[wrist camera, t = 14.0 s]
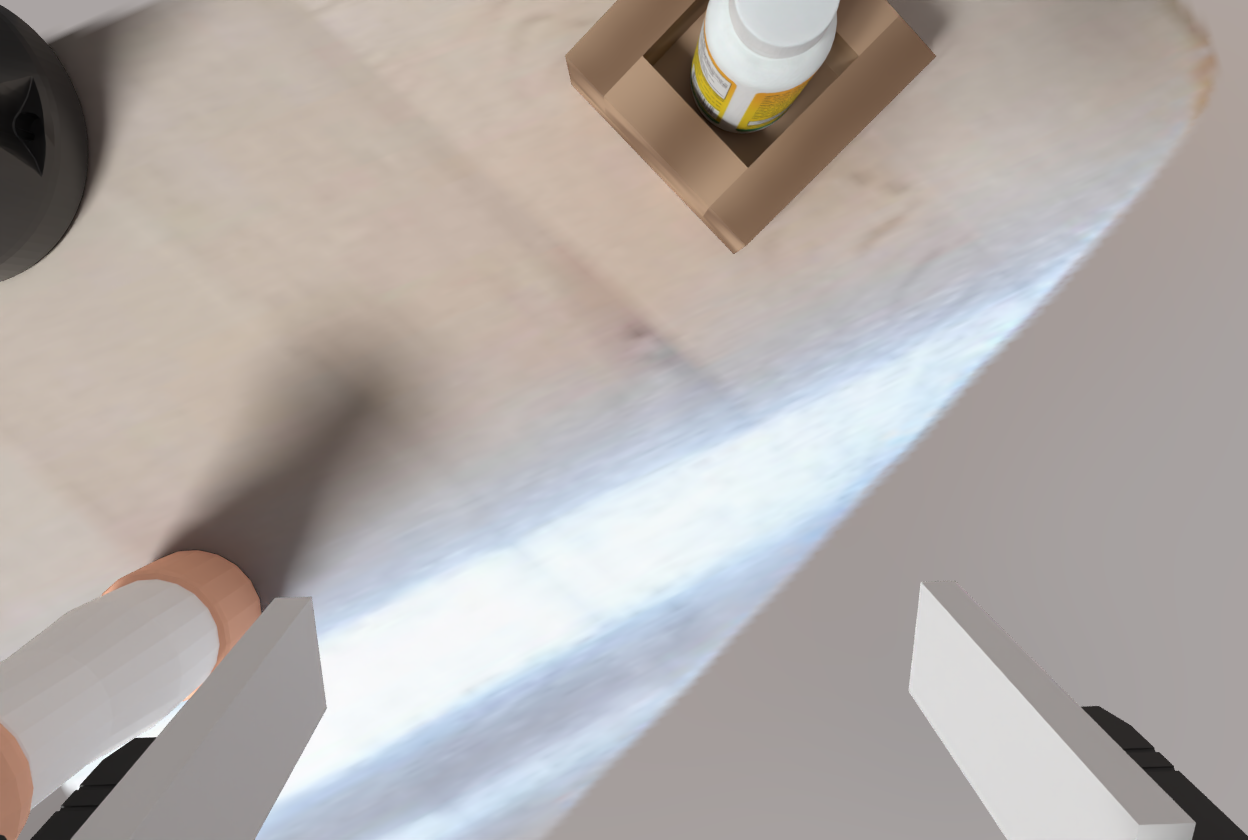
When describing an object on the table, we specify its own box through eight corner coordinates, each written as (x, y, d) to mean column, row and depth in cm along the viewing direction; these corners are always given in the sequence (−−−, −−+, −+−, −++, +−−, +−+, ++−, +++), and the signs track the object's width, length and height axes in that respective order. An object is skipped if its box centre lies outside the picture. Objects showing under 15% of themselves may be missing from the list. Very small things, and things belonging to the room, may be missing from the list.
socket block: (571, 84, 37) (565, 55, 33) (741, -95, 36) (755, -147, 32) (733, 254, 38) (745, 245, 34) (903, 84, 37) (936, 56, 33)
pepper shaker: (288, 606, 41) (-5, 847, 22) (210, 698, 42) (-139, 1010, 23) (184, 523, 40) (-210, 698, 21) (107, 618, 41) (-341, 869, 22)
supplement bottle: (673, 113, 36) (691, 33, 27) (712, 7, 36) (744, -113, 26) (773, 152, 37) (827, 86, 27) (813, 47, 36) (882, -58, 27)
